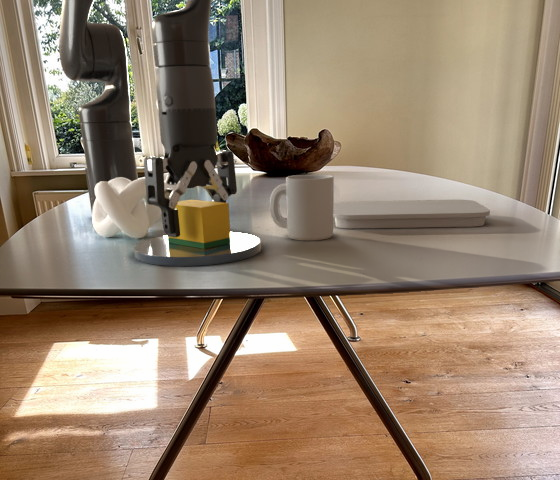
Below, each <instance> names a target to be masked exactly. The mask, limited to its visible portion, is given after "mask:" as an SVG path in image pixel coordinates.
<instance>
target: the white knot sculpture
mask: <svg viewBox="0 0 560 480" xmlns="http://www.w3.org/2000/svg"><path fill="white" fill-rule="evenodd" d="M95 196H96V199H95V202H94V206H93V212H92V211H91V222H92V227H93V229H94V230H95V232H96V234H98V235H99V236H102V237H104V238H111V237H112V238H113V237H115V236H116V235H118V234H119V233H120V232H123V233H124V234H125V235H126V236H128V237H130V238H131V239H142V238H144V237H145V236H147V234H148V232H149V229H151V228H152V227H154V225H156V223H157V222H158V221H159V220H160V218H161V217H162V212H161V209H160V207H158V206H155V205H150V204H148V203H147V199H146V185H145V178H138V179H137V180H134V181H130V180H129V179H127V178H123V177H118V178H114V179H112V180H110V181H108V182H107V181H100V182H99V183H97V184H96V186H95Z"/></svg>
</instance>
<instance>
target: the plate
mask: <svg viewBox="0 0 560 480" xmlns="http://www.w3.org/2000/svg"><path fill="white" fill-rule="evenodd" d="M230 236H231V237H230V238H231V243H229V244H224V245H220V246H216V247H211V248H207V249H202V248H196V247H190V246H184V245H178V244H173V243H168V239H167V234H166V235H161V236H156V237H151V238H148V239H145V240H142V241H140V242H138V243H136V244H135V245H134V246H133V254H134V258H135V259H136V260H137V261H139V262H141V263H145V264H150V265H154V266H155V265H156V266H166V267H200V266H212V265H220V264H226V263H227V264H228V263H232V262H238V261H242V260H245V259H249V258H252V257H255V256H256V255H258V254H259V253H260V252H261V251H262V240H261V239H260V238H259V237H257V236H255V235H252V234H248V233H242V232H233V231H230Z"/></svg>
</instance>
